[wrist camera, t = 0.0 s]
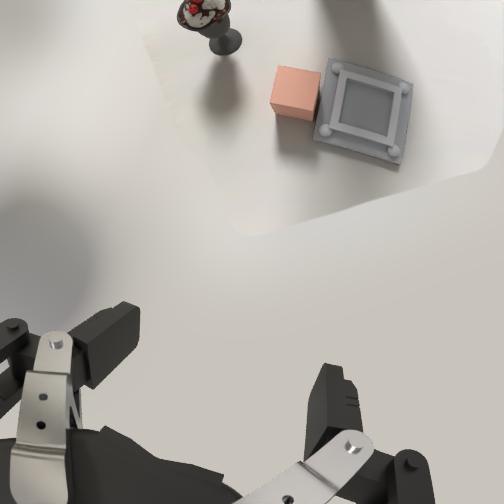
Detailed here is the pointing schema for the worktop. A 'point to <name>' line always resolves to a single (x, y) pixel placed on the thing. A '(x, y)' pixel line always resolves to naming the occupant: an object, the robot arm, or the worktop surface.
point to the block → (295, 92)
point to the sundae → (210, 23)
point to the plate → (364, 111)
